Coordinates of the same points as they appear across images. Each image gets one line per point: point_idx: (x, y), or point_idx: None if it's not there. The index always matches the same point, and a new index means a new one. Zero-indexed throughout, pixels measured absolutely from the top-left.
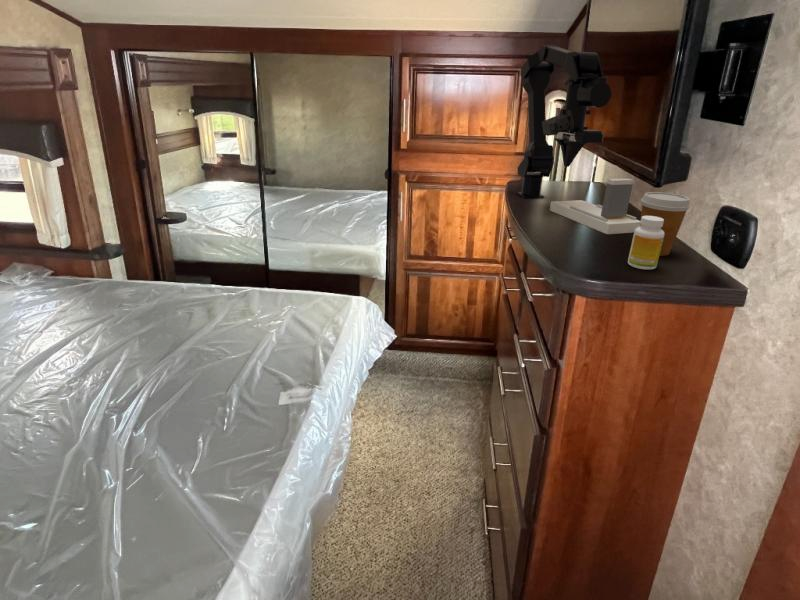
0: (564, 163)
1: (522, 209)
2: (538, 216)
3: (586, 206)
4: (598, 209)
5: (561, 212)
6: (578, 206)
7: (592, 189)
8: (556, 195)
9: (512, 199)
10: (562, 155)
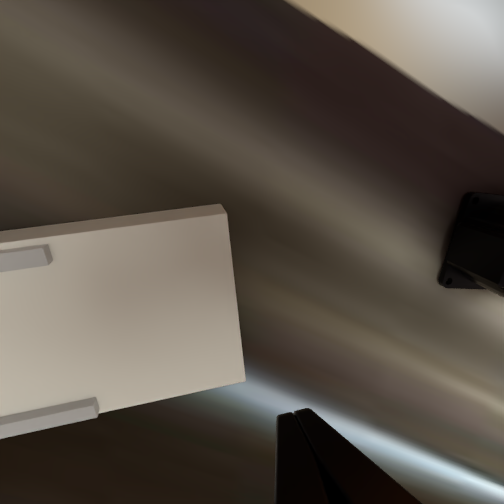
0: (311, 426)
1: (256, 51)
2: (85, 63)
3: (102, 353)
4: (31, 385)
5: (116, 219)
6: (100, 313)
7: (491, 493)
8: (461, 353)
9: (461, 115)
10: (409, 493)
